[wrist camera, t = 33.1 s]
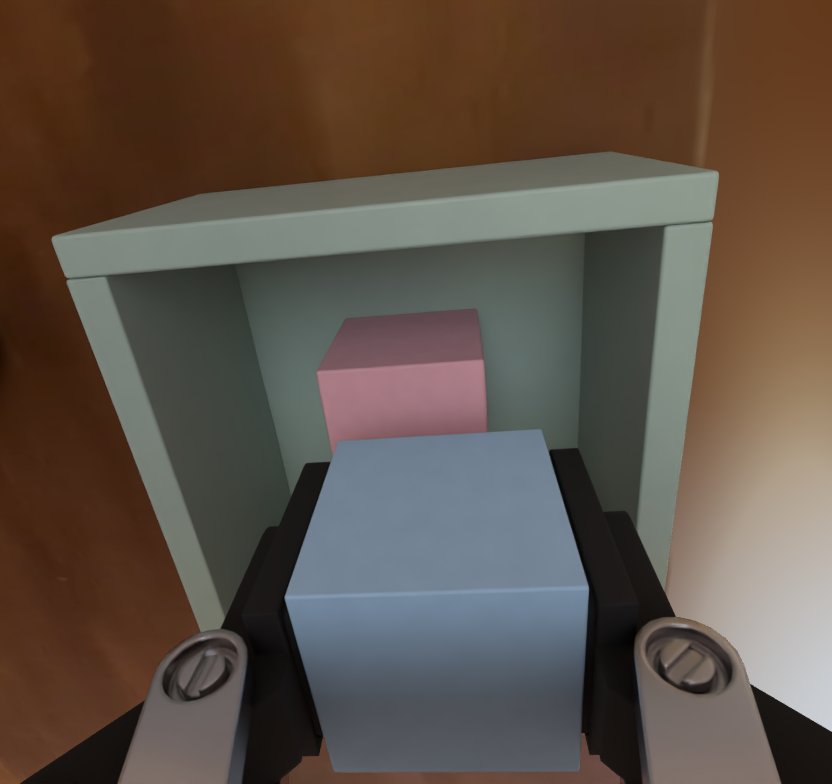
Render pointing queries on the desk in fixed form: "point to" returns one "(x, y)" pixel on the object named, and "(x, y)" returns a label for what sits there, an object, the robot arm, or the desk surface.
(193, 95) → the desk surface
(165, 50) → the desk surface
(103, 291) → the bin
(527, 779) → the desk surface
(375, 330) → the toy pink
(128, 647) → the desk surface
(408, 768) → the toy blue
